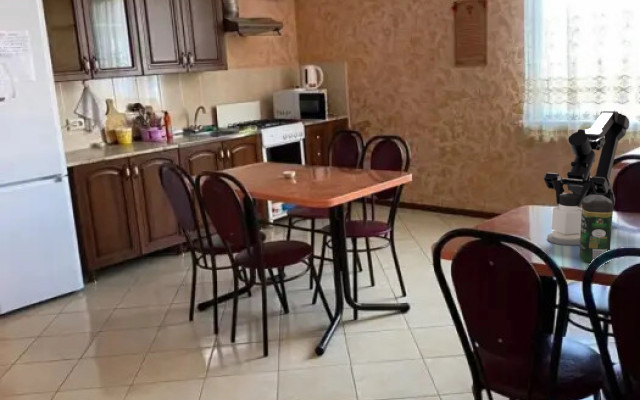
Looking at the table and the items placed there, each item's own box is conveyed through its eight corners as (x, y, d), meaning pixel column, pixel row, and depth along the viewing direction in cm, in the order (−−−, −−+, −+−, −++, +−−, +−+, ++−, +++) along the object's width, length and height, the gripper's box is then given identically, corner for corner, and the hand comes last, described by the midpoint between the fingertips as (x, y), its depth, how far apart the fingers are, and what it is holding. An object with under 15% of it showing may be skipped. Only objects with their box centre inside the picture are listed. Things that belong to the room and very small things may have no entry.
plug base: (557, 233, 207) (557, 226, 206) (593, 239, 199) (594, 232, 198) (540, 241, 199) (540, 233, 198) (577, 247, 190) (578, 240, 190)
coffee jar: (577, 253, 185) (580, 192, 181) (606, 255, 183) (610, 193, 179) (580, 263, 176) (584, 199, 172) (611, 265, 174) (616, 200, 170)
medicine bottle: (584, 232, 196) (587, 195, 193) (564, 234, 194) (567, 197, 191) (570, 227, 202) (572, 190, 200) (551, 229, 201) (553, 192, 198)
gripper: (617, 182, 200) (603, 222, 195) (559, 176, 212) (544, 215, 207) (610, 161, 193) (596, 203, 187) (550, 157, 205) (536, 196, 199)
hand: (567, 205), depth 195 cm, fingers open, 6 cm apart
